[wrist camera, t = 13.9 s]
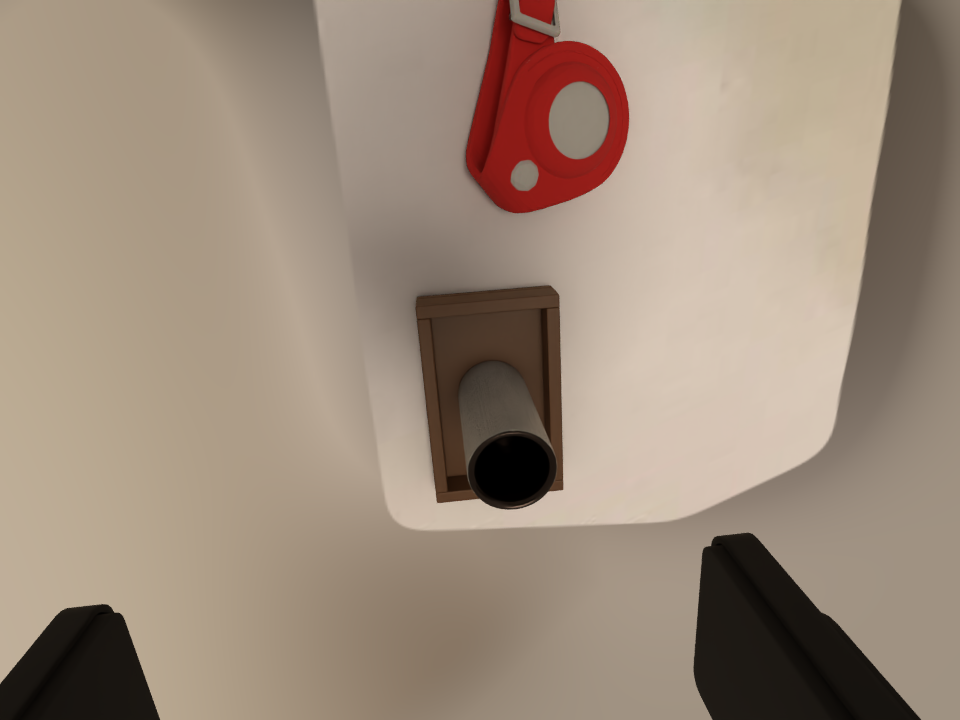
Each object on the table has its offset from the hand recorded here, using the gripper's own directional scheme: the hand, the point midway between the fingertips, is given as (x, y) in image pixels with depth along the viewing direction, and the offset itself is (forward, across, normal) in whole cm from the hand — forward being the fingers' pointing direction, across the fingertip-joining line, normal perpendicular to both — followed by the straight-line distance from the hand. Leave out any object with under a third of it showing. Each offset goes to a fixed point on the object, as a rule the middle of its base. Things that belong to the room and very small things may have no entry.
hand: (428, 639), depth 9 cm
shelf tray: (+28, -3, +8) cm, 29 cm away
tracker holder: (+28, -8, -10) cm, 31 cm away
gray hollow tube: (+28, -3, +8) cm, 29 cm away
